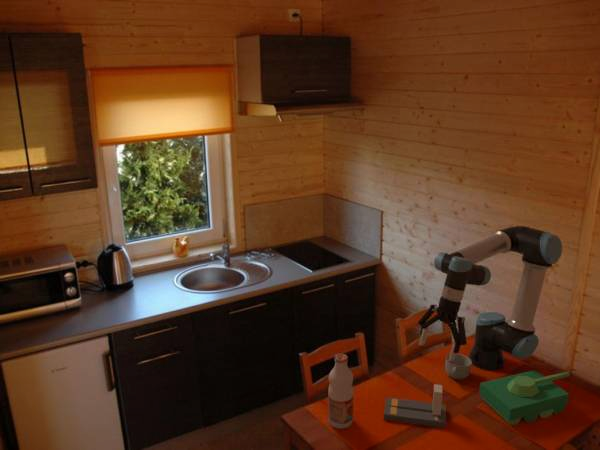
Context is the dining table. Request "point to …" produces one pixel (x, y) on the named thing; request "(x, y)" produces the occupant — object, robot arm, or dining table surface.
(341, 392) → the fruit juice
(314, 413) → the dining table surface
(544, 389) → the toy tank
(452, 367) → the teacup
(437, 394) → the block
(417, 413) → the panel
